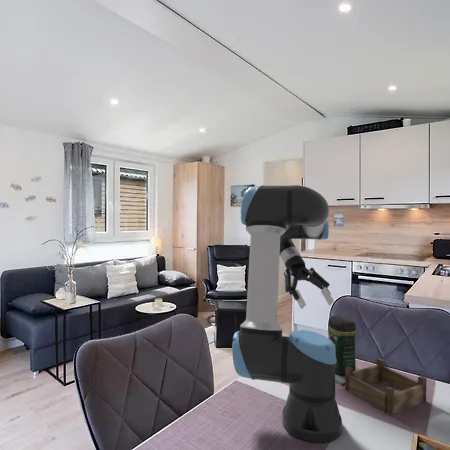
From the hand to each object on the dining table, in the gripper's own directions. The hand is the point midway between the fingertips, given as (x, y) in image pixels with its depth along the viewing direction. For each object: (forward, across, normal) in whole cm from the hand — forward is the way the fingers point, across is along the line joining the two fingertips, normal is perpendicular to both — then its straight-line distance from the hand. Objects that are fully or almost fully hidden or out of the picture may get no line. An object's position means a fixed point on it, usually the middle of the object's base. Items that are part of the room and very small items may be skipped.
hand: (318, 305), depth 128 cm
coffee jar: (+22, -3, -9) cm, 23 cm away
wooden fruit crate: (+34, -3, +3) cm, 35 cm away
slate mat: (+22, -3, -9) cm, 24 cm away
